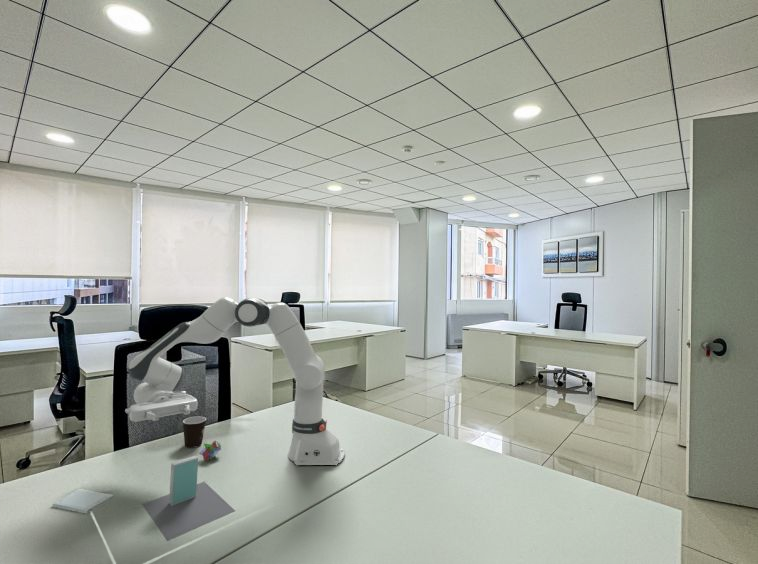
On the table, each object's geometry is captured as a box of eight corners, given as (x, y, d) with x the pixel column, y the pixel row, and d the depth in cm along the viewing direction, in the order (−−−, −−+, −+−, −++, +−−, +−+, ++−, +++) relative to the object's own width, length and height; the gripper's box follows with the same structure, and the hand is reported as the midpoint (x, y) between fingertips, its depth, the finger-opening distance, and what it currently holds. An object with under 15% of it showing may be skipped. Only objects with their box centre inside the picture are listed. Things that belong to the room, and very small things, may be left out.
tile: (169, 503, 108) (171, 462, 108) (193, 493, 113) (195, 455, 113) (171, 506, 106) (173, 465, 106) (196, 496, 111) (198, 457, 112)
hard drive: (52, 503, 105) (87, 509, 102) (80, 487, 113) (113, 493, 110) (52, 508, 105) (86, 515, 102) (80, 493, 113) (113, 499, 110)
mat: (141, 505, 107) (142, 503, 107) (204, 483, 120) (204, 481, 120) (167, 543, 92) (167, 540, 92) (235, 512, 105) (235, 510, 105)
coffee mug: (195, 450, 144) (196, 425, 144) (176, 447, 145) (177, 422, 146) (214, 438, 155) (215, 415, 155) (196, 436, 157) (197, 413, 157)
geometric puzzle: (206, 461, 130) (217, 439, 135) (191, 458, 133) (202, 435, 137) (217, 466, 136) (227, 444, 140) (203, 463, 138) (213, 441, 143)
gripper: (124, 399, 119) (136, 411, 110) (189, 390, 135) (204, 400, 125) (122, 418, 119) (134, 432, 110) (187, 406, 134) (203, 418, 125)
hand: (172, 415), depth 118 cm, fingers open, 8 cm apart
